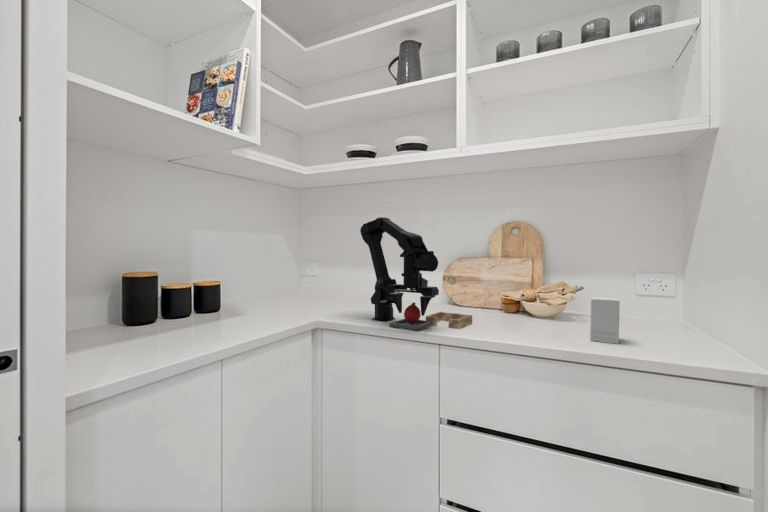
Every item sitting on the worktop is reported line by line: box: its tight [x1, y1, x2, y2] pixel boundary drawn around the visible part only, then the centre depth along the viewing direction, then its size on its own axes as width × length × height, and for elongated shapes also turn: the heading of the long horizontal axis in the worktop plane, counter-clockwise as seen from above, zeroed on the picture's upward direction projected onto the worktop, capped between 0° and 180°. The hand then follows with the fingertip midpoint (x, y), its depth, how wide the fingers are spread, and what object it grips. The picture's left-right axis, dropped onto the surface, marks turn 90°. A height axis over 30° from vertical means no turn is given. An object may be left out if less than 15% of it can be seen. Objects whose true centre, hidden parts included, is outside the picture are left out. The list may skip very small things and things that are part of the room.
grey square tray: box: [389, 318, 434, 332], centre depth 129 cm, size 11×11×2 cm
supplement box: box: [589, 296, 620, 345], centre depth 110 cm, size 7×7×13 cm
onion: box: [403, 302, 422, 325], centre depth 129 cm, size 6×6×8 cm
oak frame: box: [425, 311, 473, 330], centre depth 134 cm, size 13×12×3 cm
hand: (411, 314), depth 129 cm, fingers open, 9 cm apart
